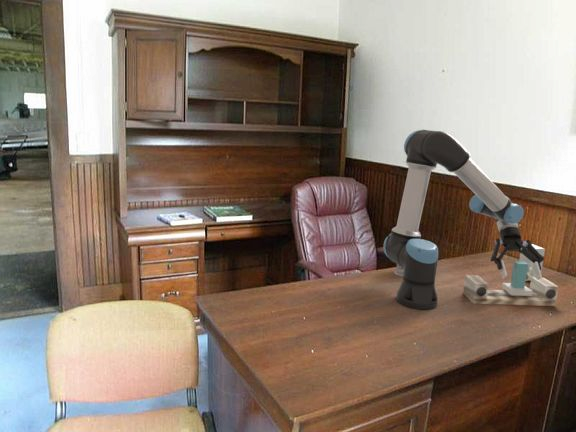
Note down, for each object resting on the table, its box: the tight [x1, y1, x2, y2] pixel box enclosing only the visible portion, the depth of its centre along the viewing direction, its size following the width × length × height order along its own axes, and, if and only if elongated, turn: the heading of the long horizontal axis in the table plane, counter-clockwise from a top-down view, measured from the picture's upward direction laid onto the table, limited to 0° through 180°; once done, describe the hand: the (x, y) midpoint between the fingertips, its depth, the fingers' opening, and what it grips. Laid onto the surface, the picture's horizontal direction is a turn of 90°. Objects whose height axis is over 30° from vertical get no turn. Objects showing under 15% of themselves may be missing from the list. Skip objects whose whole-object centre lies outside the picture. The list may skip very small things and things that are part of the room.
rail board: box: [462, 274, 559, 307], centre depth 179 cm, size 32×10×8 cm, turn 91°
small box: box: [518, 243, 546, 273], centre depth 212 cm, size 8×6×13 cm
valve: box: [525, 255, 545, 282], centre depth 202 cm, size 7×7×12 cm
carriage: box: [501, 260, 533, 296], centre depth 178 cm, size 8×8×13 cm
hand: (522, 277), depth 176 cm, fingers open, 13 cm apart
